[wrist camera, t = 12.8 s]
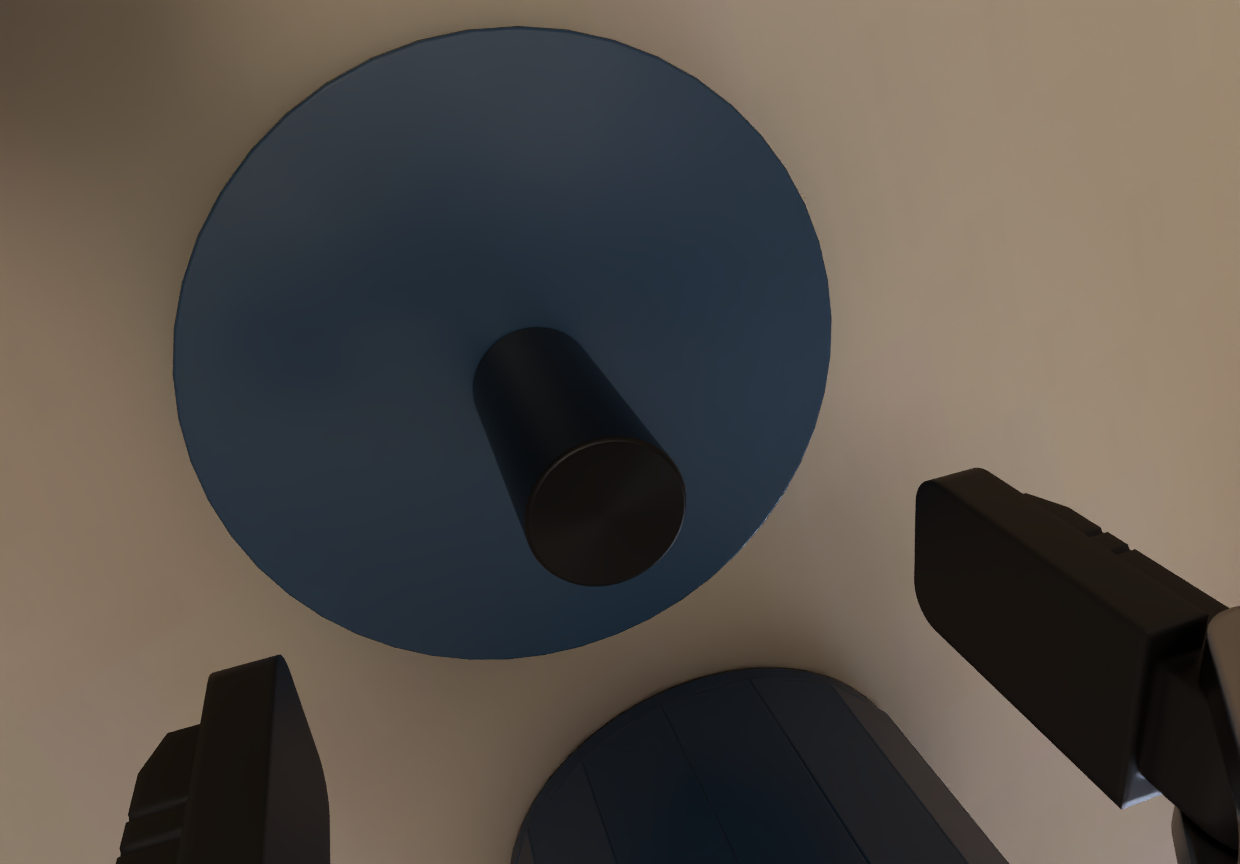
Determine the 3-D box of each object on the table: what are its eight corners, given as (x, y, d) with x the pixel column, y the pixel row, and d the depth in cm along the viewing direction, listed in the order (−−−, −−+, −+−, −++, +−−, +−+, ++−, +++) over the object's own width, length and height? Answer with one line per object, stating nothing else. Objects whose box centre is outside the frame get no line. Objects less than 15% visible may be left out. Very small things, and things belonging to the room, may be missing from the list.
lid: (290, 698, 20) (274, 963, 15) (71, 86, 15) (-98, 118, 9) (818, 550, 23) (984, 726, 17) (795, -19, 17) (1027, -46, 12)
